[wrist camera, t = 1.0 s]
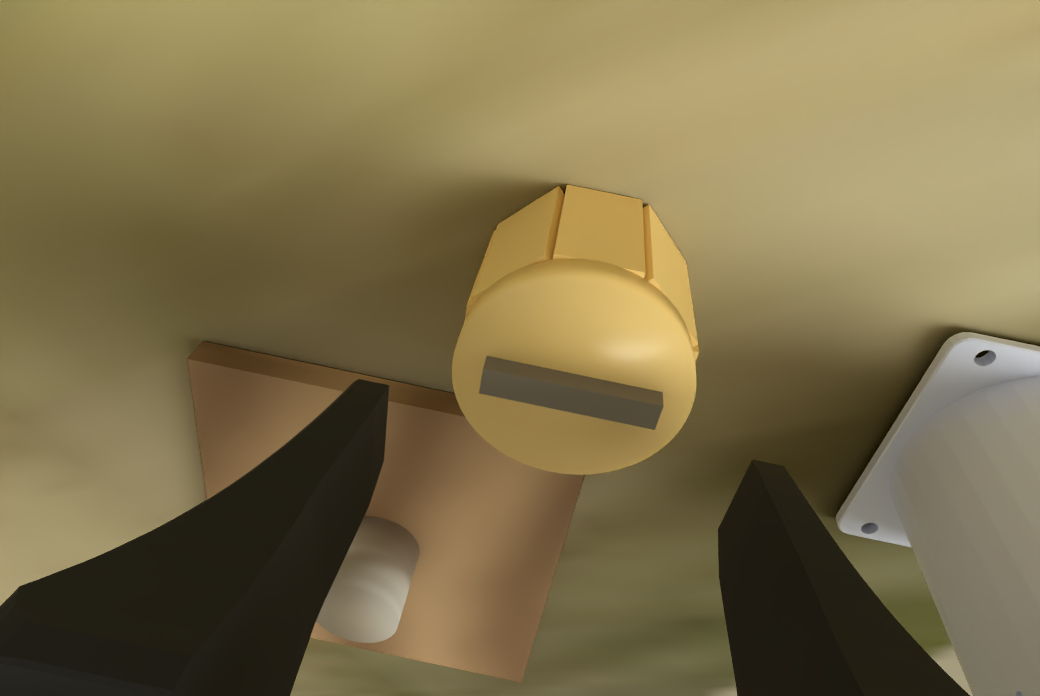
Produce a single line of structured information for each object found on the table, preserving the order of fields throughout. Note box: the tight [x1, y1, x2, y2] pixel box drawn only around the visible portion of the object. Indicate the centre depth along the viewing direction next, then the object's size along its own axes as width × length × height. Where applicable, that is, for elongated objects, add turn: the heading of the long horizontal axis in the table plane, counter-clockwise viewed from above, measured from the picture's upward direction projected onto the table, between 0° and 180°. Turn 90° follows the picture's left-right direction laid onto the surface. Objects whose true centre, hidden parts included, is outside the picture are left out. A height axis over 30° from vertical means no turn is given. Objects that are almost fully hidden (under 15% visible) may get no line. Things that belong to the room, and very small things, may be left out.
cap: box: [452, 184, 699, 475], centre depth 18 cm, size 6×6×5 cm
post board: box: [187, 341, 585, 682], centre depth 25 cm, size 13×14×4 cm
